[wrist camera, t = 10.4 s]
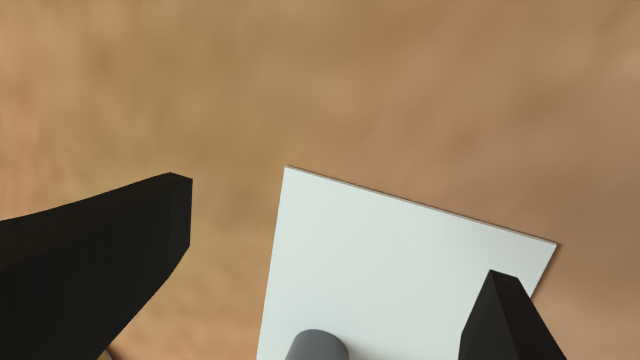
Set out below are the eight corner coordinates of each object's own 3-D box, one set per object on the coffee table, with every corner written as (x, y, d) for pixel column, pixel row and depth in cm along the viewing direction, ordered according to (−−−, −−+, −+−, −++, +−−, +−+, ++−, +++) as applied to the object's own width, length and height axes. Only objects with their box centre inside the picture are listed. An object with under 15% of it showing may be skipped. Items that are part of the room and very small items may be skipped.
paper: (555, 242, 20) (556, 245, 20) (455, 441, 27) (455, 444, 27) (286, 165, 22) (285, 166, 22) (255, 369, 29) (254, 371, 29)
